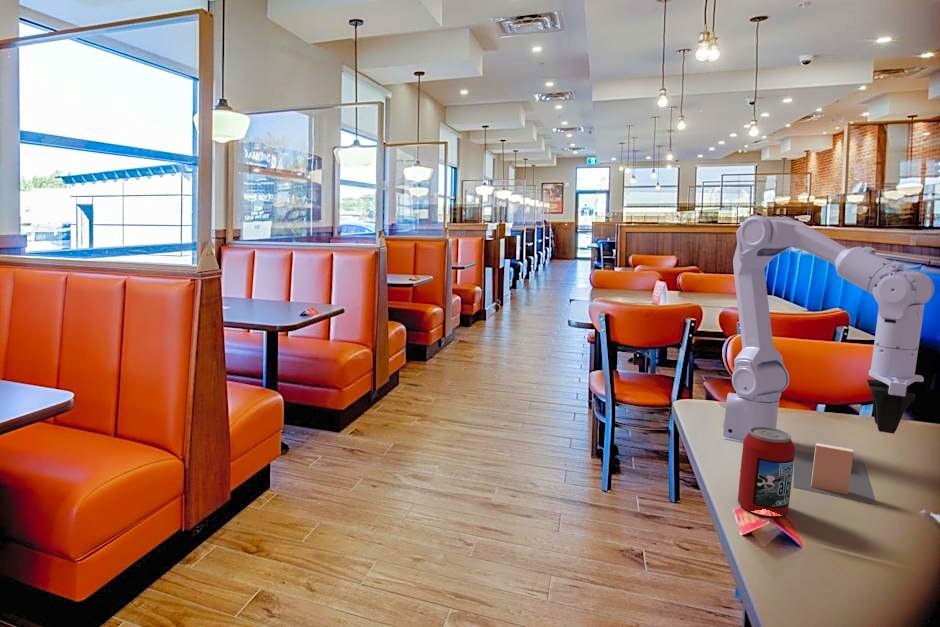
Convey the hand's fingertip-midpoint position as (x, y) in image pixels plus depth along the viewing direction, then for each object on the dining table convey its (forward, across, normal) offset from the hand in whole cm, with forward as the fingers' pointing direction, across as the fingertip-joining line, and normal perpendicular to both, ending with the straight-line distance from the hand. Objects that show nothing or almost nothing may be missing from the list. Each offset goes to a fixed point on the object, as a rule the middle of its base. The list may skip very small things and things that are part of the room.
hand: (884, 428), depth 93 cm
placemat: (+10, 0, +6) cm, 12 cm away
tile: (+10, -7, +7) cm, 14 cm away
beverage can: (+10, -20, +16) cm, 28 cm away
